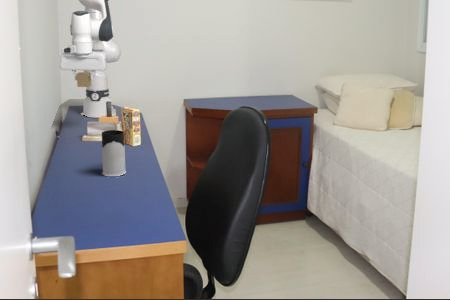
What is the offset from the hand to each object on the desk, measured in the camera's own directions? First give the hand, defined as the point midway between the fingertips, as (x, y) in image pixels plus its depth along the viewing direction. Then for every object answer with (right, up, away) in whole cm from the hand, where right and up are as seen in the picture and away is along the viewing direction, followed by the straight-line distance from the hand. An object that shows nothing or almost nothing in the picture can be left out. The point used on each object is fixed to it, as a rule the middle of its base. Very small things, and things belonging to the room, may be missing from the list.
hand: (84, 80), depth 240 cm
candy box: (+23, -29, -10) cm, 38 cm away
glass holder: (+23, -39, -48) cm, 66 cm away
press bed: (+9, -24, +6) cm, 26 cm away
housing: (0, -3, +1) cm, 3 cm away
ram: (+9, -21, +12) cm, 25 cm away
